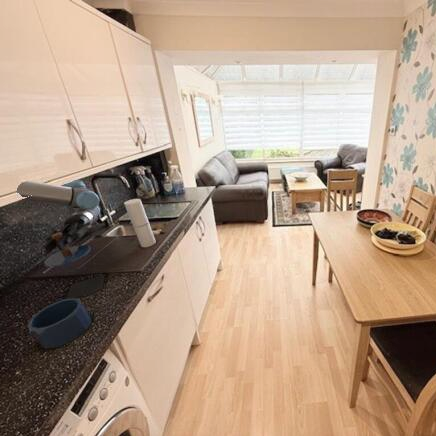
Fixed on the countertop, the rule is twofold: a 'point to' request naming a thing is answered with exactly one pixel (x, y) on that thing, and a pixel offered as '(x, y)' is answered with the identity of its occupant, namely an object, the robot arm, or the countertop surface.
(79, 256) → the lid
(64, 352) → the countertop surface
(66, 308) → the pot
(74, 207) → the robot arm
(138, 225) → the cylindrical container
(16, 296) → the countertop surface
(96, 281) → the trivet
